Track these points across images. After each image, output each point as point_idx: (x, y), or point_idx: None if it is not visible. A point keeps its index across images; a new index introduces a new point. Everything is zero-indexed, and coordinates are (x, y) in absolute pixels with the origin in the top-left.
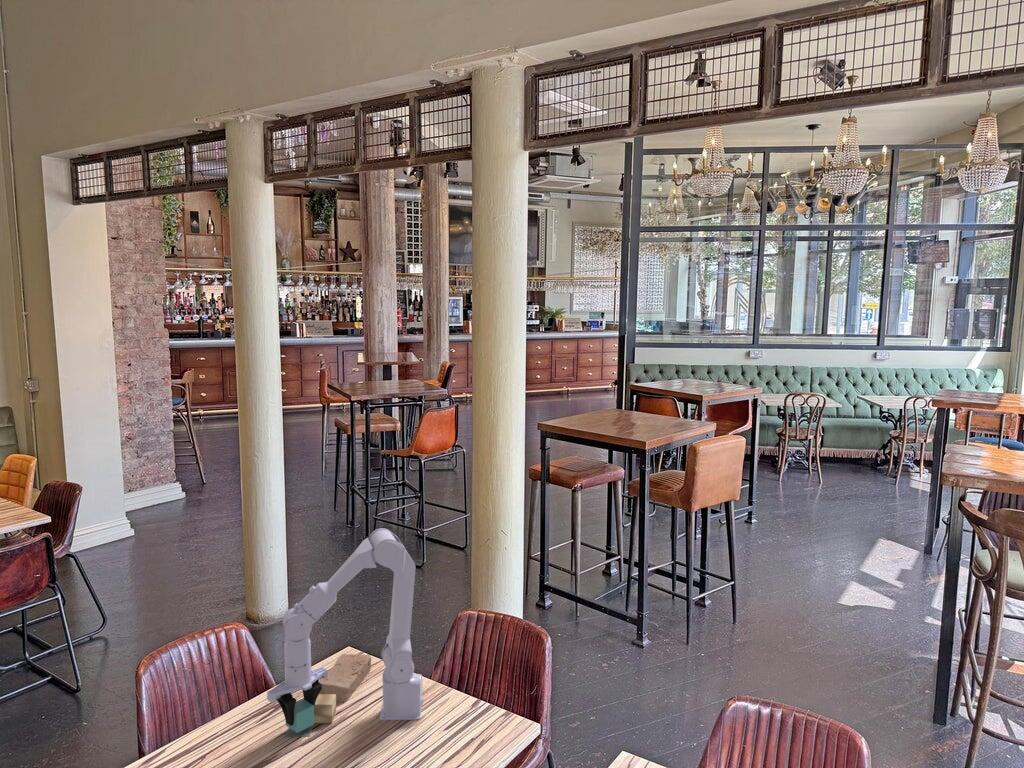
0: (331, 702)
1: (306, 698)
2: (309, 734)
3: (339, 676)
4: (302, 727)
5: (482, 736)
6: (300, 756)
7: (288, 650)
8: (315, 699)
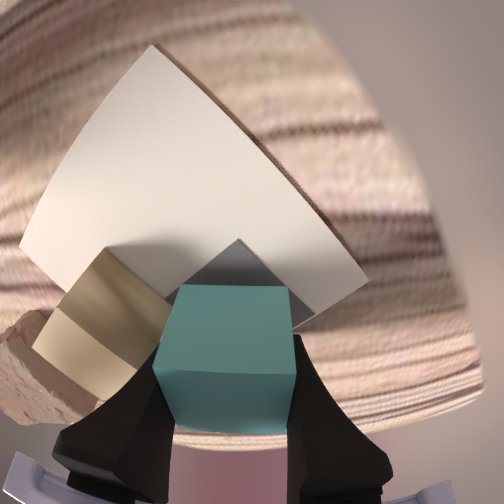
0: (55, 321)
1: (166, 423)
2: (228, 250)
3: (25, 393)
4: (252, 296)
5: None
6: (367, 139)
7: None
8: (125, 393)
